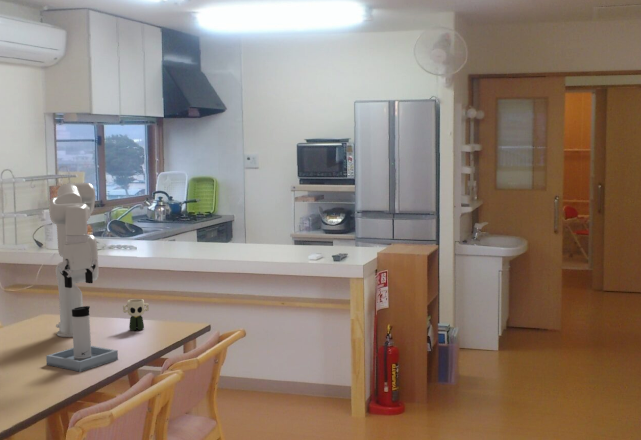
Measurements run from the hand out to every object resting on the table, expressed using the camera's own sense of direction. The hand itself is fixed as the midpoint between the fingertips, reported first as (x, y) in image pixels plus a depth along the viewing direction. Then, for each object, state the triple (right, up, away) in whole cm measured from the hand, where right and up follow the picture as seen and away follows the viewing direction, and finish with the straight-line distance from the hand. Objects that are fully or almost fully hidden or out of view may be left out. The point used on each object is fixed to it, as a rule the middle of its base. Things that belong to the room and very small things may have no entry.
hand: (79, 285), depth 285 cm
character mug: (+9, -24, +52) cm, 58 cm away
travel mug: (+1, -28, +3) cm, 28 cm away
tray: (+1, -29, +3) cm, 29 cm away
